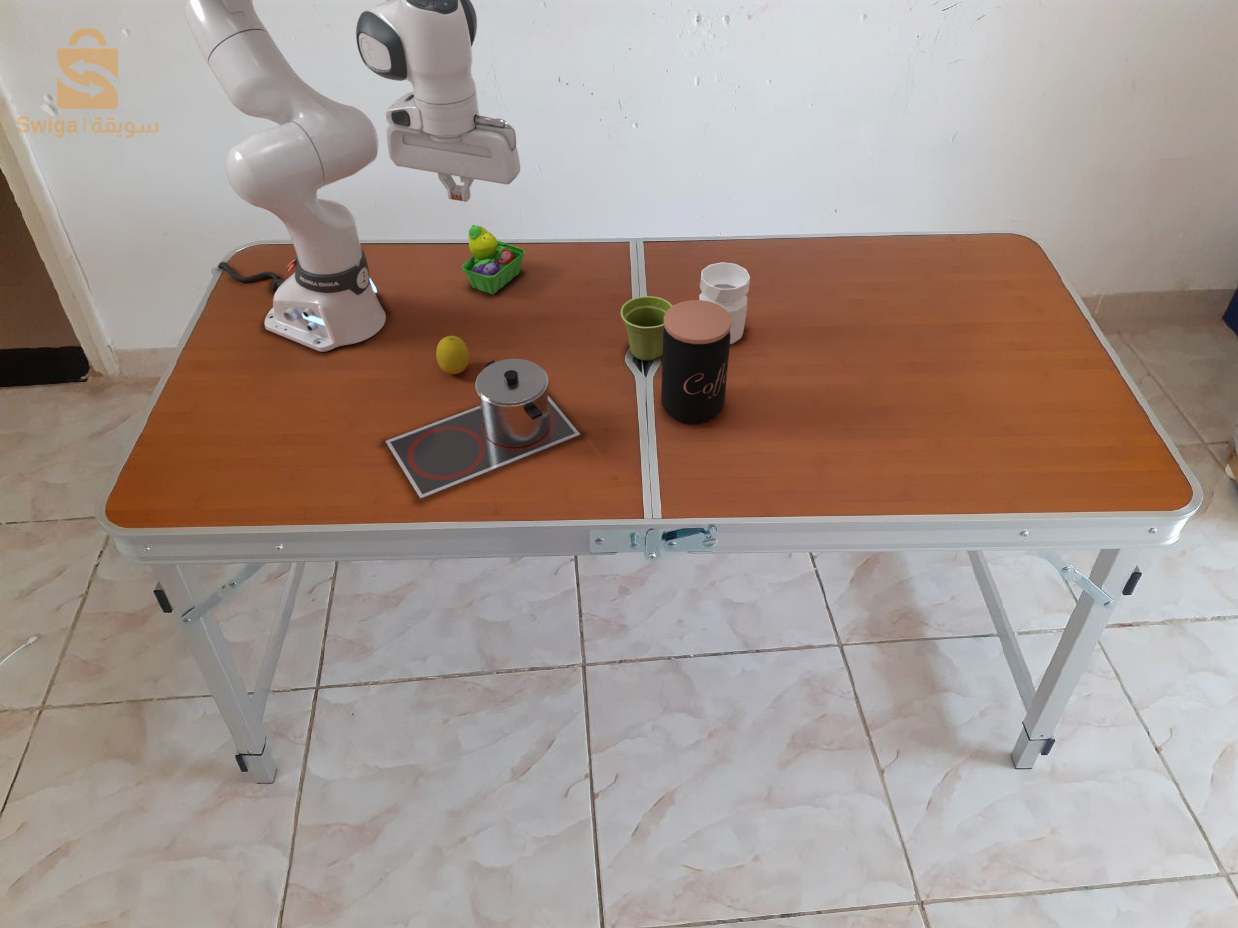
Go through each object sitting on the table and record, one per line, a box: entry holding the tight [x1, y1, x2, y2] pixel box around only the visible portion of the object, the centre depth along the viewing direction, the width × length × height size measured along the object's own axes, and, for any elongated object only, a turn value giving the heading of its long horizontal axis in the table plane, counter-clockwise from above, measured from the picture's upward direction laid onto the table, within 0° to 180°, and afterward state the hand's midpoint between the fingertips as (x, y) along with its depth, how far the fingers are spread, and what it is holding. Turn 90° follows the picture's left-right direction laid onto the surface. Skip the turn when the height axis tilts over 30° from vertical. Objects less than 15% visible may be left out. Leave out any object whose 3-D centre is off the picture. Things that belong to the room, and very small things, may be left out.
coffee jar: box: [660, 299, 732, 425], centre depth 156 cm, size 11×11×18 cm
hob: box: [385, 395, 581, 500], centre depth 156 cm, size 28×15×1 cm, turn 120°
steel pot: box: [474, 358, 550, 447], centre depth 155 cm, size 12×16×11 cm
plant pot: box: [620, 295, 673, 361], centre depth 170 cm, size 9×9×9 cm
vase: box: [698, 261, 751, 345], centre depth 173 cm, size 9×9×12 cm
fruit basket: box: [461, 224, 526, 296], centre depth 186 cm, size 11×9×11 cm
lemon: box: [435, 335, 470, 375], centre depth 166 cm, size 6×6×8 cm
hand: (459, 199), depth 147 cm, fingers closed
